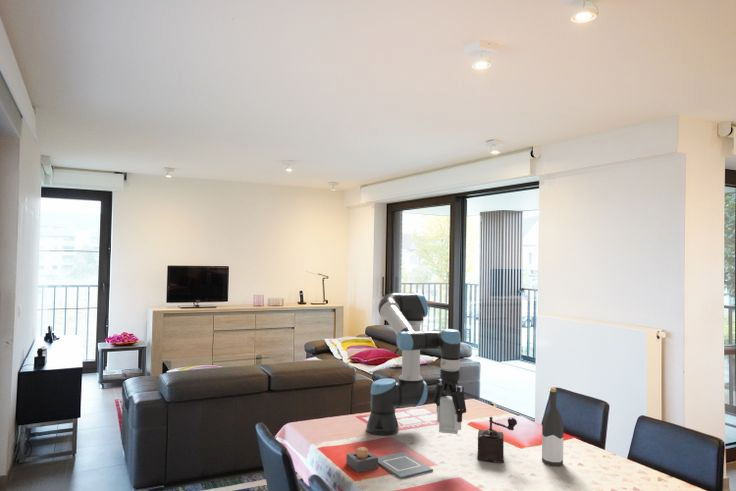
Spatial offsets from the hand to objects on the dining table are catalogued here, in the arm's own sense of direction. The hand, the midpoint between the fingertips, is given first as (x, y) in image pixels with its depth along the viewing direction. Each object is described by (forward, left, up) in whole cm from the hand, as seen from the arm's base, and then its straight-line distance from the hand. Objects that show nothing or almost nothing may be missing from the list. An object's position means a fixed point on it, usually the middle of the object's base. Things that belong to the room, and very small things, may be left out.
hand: (448, 425), depth 204 cm
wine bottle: (+17, +40, -16) cm, 46 cm away
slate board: (-9, -16, -16) cm, 24 cm away
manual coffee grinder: (+3, +23, -16) cm, 28 cm away
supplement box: (0, 0, -2) cm, 2 cm away
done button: (-16, -30, -13) cm, 36 cm away
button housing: (-16, -30, -16) cm, 37 cm away
